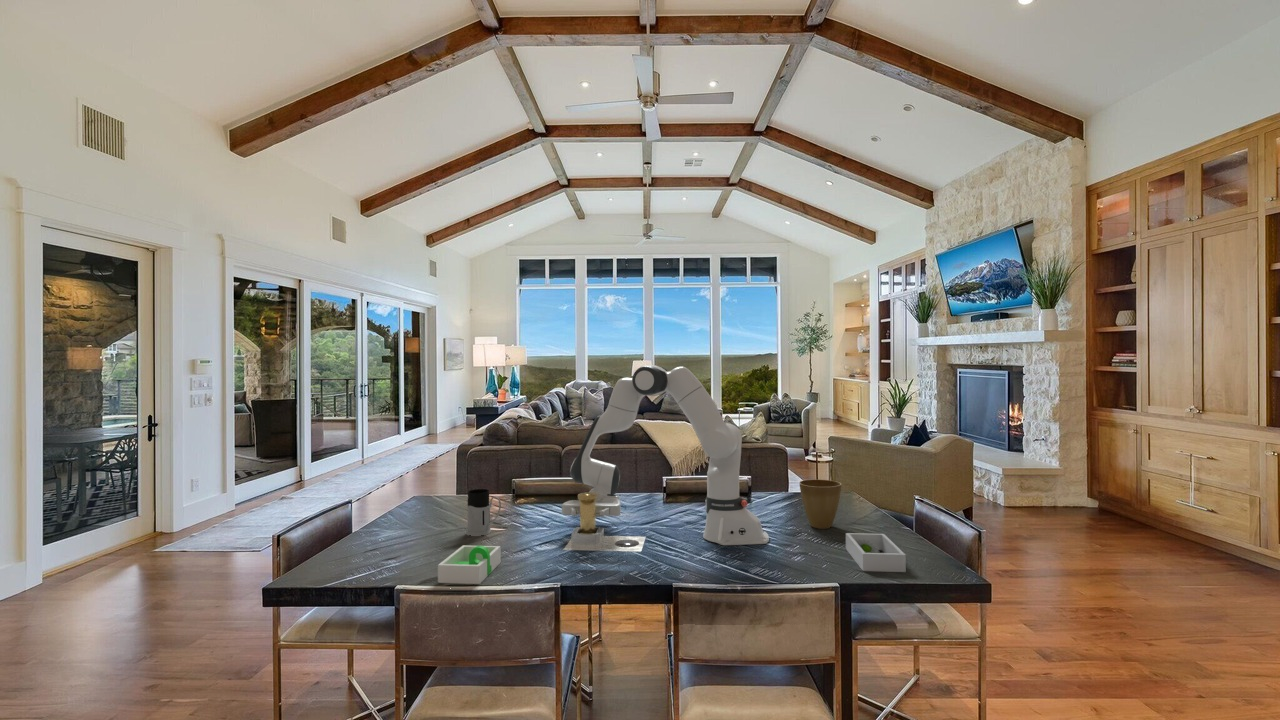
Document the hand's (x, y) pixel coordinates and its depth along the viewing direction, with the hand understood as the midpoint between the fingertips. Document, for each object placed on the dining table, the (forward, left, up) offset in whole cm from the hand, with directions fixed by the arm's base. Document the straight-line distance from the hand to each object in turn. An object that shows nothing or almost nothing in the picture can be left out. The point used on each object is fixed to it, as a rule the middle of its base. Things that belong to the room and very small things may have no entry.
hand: (587, 513), depth 201 cm
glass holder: (+40, -13, -11) cm, 43 cm away
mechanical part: (+30, +26, -11) cm, 41 cm away
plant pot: (-81, -31, -11) cm, 87 cm away
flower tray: (-90, +6, -11) cm, 91 cm away
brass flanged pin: (0, 0, -10) cm, 10 cm away
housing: (-6, 0, -11) cm, 13 cm away
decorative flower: (-90, +7, -11) cm, 91 cm away
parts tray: (+30, +26, -11) cm, 41 cm away
